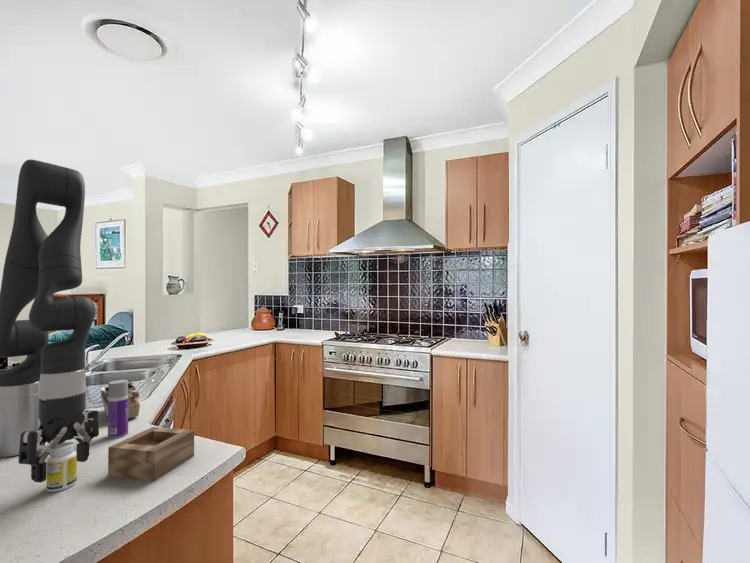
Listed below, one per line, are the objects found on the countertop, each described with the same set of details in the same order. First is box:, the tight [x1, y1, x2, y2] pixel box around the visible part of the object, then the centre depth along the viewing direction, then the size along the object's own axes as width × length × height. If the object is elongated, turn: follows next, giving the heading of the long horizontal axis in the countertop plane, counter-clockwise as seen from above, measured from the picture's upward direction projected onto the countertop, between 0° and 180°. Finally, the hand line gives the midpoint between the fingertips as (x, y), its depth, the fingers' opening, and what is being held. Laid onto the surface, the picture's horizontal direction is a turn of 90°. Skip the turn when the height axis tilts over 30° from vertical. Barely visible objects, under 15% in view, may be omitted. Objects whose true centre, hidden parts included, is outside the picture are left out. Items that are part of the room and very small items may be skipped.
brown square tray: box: [107, 426, 195, 482], centre depth 84 cm, size 12×12×6 cm
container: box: [107, 379, 129, 440], centre depth 102 cm, size 5×5×15 cm
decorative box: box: [100, 381, 141, 420], centre depth 118 cm, size 13×20×10 cm, turn 36°
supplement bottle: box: [46, 441, 78, 493], centre depth 75 cm, size 5×5×8 cm
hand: (62, 470), depth 75 cm, fingers open, 8 cm apart
